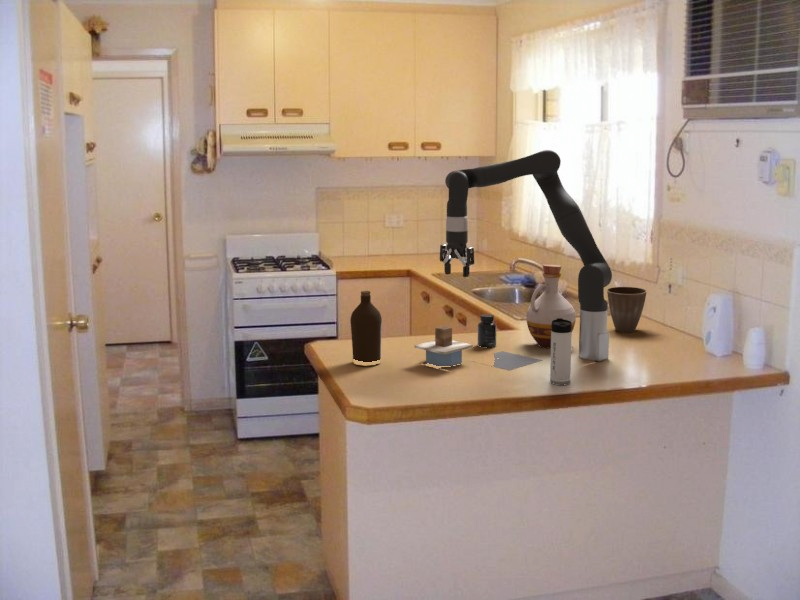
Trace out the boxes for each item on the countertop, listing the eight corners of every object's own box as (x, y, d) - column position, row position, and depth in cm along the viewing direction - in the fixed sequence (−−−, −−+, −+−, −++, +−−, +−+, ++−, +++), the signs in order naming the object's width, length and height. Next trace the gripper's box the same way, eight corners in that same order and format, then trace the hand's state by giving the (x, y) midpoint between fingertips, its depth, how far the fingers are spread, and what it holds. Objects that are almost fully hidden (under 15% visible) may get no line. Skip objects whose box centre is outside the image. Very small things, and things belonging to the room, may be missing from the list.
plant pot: (646, 335, 345) (648, 294, 341) (606, 334, 347) (608, 293, 344) (643, 326, 359) (644, 287, 356) (604, 325, 362) (606, 286, 358)
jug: (549, 355, 317) (551, 271, 311) (512, 346, 330) (513, 265, 325) (585, 346, 329) (587, 264, 323) (548, 337, 343) (549, 259, 337)
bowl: (468, 364, 306) (468, 347, 305) (444, 371, 298) (444, 353, 297) (443, 358, 315) (443, 341, 314) (418, 364, 307) (418, 347, 305)
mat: (542, 361, 308) (543, 360, 308) (509, 372, 296) (509, 370, 296) (502, 352, 321) (502, 351, 321) (468, 362, 309) (468, 360, 309)
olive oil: (360, 368, 302) (358, 295, 297) (346, 361, 311) (344, 290, 306) (387, 364, 307) (386, 292, 302) (373, 357, 316) (372, 287, 311)
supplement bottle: (474, 346, 331) (474, 314, 329) (491, 344, 333) (491, 312, 331) (482, 350, 325) (482, 318, 322) (499, 348, 327) (499, 316, 325)
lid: (473, 347, 305) (473, 327, 304) (444, 354, 296) (444, 334, 294) (443, 340, 315) (443, 321, 314) (414, 347, 306) (414, 327, 304)
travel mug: (567, 379, 287) (569, 317, 283) (572, 385, 281) (573, 322, 277) (548, 379, 287) (549, 318, 283) (552, 385, 281) (553, 322, 277)
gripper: (479, 230, 310) (479, 276, 313) (449, 226, 320) (449, 272, 323) (464, 231, 305) (464, 279, 308) (434, 228, 315) (434, 274, 318)
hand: (456, 275), depth 315 cm, fingers open, 8 cm apart
